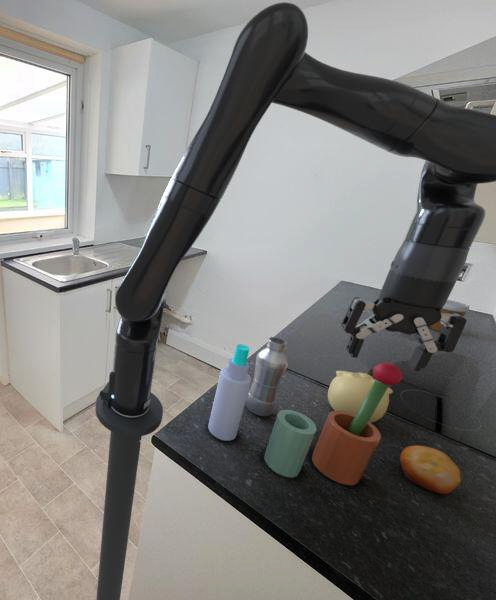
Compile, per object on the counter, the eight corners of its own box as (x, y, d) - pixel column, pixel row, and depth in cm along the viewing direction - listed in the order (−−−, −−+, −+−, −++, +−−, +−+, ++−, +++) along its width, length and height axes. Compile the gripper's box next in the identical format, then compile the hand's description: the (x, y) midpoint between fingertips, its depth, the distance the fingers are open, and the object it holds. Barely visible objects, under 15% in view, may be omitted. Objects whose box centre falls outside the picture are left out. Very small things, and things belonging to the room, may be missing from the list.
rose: (327, 465, 62) (384, 364, 55) (322, 452, 65) (375, 356, 59) (350, 475, 60) (411, 373, 54) (344, 461, 64) (400, 364, 58)
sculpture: (380, 412, 80) (397, 377, 76) (377, 437, 71) (396, 399, 68) (327, 391, 87) (340, 358, 83) (319, 412, 79) (333, 376, 75)
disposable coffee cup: (423, 322, 138) (435, 297, 133) (453, 329, 132) (467, 303, 128) (427, 329, 131) (440, 303, 126) (459, 337, 125) (474, 309, 121)
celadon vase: (265, 469, 62) (279, 426, 58) (263, 446, 67) (276, 405, 63) (302, 482, 60) (319, 438, 56) (297, 457, 65) (313, 416, 61)
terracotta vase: (315, 475, 61) (334, 432, 57) (308, 445, 68) (324, 405, 64) (365, 492, 58) (388, 447, 54) (352, 459, 65) (371, 418, 61)
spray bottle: (226, 446, 67) (249, 358, 59) (202, 428, 71) (221, 344, 63) (241, 434, 70) (265, 350, 62) (217, 418, 75) (237, 337, 67)
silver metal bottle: (271, 423, 74) (295, 351, 67) (241, 412, 77) (260, 341, 70) (273, 408, 79) (295, 339, 72) (244, 398, 82) (263, 331, 75)
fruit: (451, 471, 62) (470, 457, 57) (443, 507, 59) (462, 496, 54) (397, 446, 67) (410, 431, 62) (387, 479, 64) (399, 466, 59)
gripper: (374, 270, 48) (339, 361, 53) (503, 287, 42) (448, 385, 48) (358, 260, 54) (328, 342, 60) (469, 273, 49) (424, 362, 55)
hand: (382, 361), depth 54 cm, fingers open, 8 cm apart
